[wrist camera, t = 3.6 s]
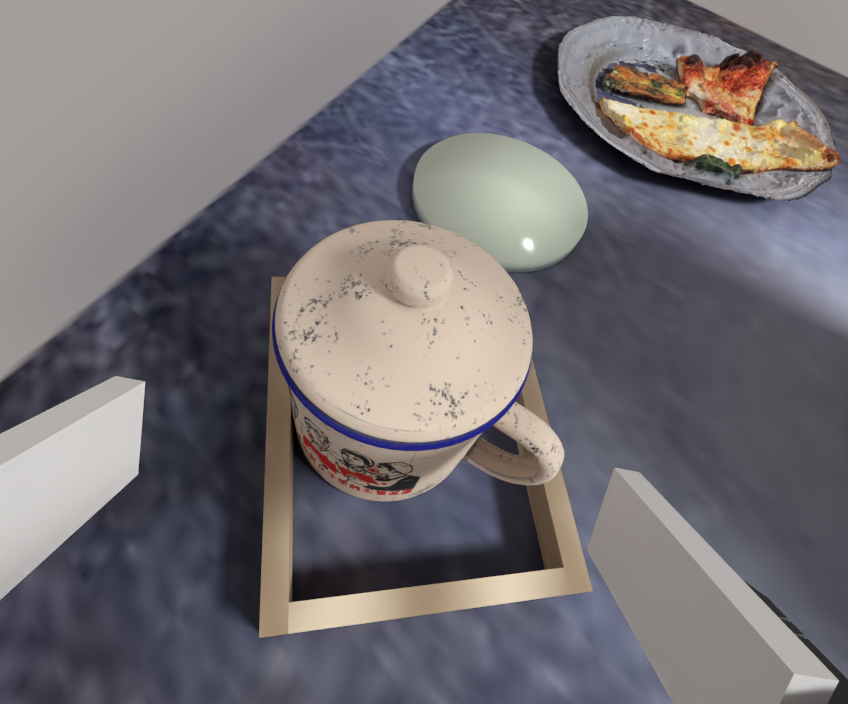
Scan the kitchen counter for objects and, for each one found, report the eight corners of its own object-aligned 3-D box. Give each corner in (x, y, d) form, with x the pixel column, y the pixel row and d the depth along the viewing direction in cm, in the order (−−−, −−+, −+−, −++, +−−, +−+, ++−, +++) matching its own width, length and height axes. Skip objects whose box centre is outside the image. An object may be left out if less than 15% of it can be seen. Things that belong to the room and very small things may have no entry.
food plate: (782, 74, 50) (810, 38, 47) (853, 241, 38) (897, 207, 35) (547, 21, 48) (561, -19, 45) (547, 177, 37) (565, 137, 34)
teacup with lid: (248, 433, 23) (183, 279, 13) (364, 309, 27) (385, 123, 17) (464, 591, 21) (589, 557, 11) (550, 430, 25) (694, 300, 15)
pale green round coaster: (556, 149, 37) (562, 138, 36) (603, 273, 31) (610, 263, 31) (403, 139, 35) (405, 127, 34) (423, 271, 29) (426, 261, 28)
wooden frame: (500, 298, 29) (511, 278, 27) (571, 593, 21) (592, 591, 20) (275, 299, 26) (271, 276, 25) (265, 637, 19) (259, 637, 17)
